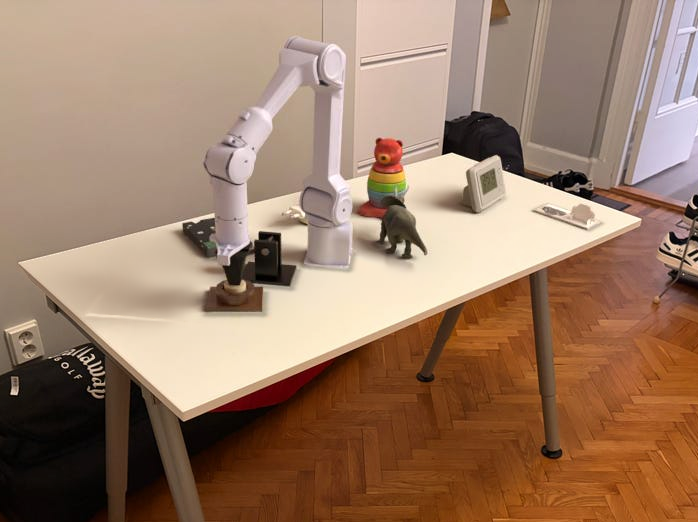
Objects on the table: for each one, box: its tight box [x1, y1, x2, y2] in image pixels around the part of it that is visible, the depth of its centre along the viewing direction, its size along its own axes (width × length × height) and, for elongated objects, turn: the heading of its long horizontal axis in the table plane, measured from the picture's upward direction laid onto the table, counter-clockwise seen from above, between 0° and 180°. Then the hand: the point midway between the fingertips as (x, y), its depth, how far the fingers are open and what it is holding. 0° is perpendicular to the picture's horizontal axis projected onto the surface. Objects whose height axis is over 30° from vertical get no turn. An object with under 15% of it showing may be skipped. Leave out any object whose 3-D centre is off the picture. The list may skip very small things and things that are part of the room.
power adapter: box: [281, 203, 308, 225], centre depth 166 cm, size 11×5×6 cm, turn 137°
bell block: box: [206, 279, 264, 313], centre depth 134 cm, size 10×8×4 cm
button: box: [224, 280, 246, 293], centre depth 133 cm, size 4×4×2 cm
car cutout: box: [533, 202, 602, 231], centre depth 179 cm, size 15×7×4 cm, turn 47°
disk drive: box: [181, 217, 253, 259], centre depth 156 cm, size 10×3×15 cm
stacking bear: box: [357, 137, 407, 219], centre depth 171 cm, size 11×10×18 cm
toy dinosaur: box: [375, 184, 428, 259], centre depth 156 cm, size 22×8×11 cm, turn 12°
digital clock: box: [461, 154, 507, 213], centre depth 182 cm, size 16×9×11 cm, turn 134°
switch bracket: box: [242, 230, 297, 287], centre depth 142 cm, size 10×8×9 cm
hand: (235, 283), depth 133 cm, fingers closed, pressing on button
